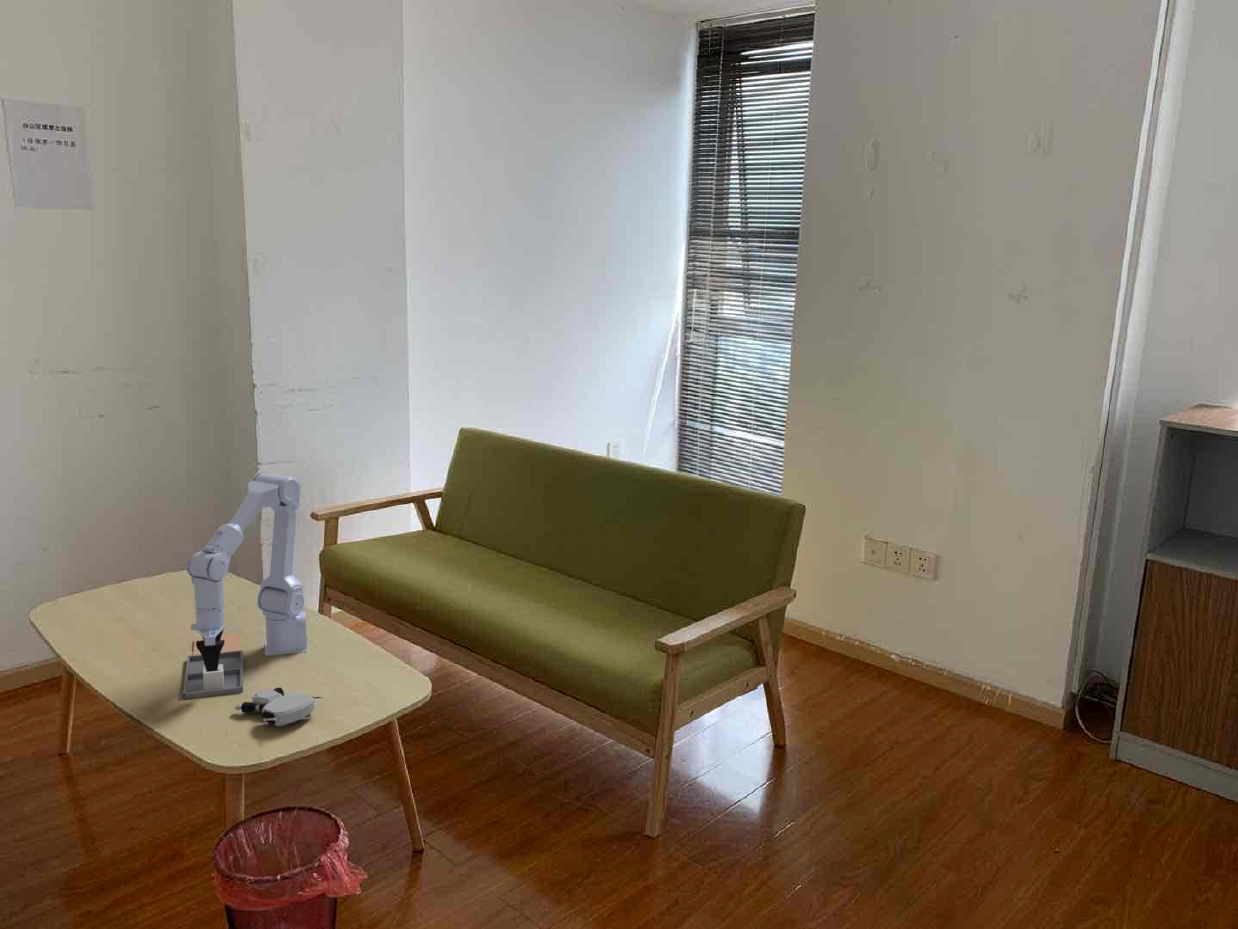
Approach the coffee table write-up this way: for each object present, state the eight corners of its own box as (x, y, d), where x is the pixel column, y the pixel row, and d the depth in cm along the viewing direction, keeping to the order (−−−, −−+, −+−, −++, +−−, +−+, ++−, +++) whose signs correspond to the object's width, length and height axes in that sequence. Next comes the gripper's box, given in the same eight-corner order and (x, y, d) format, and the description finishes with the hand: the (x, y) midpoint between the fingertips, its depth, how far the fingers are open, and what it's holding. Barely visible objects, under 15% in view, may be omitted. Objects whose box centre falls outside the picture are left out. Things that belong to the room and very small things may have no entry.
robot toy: (231, 720, 199) (278, 737, 191) (229, 700, 198) (277, 716, 190) (279, 698, 209) (326, 714, 201) (278, 679, 208) (325, 694, 200)
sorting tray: (242, 656, 226) (242, 650, 226) (243, 693, 208) (242, 687, 208) (188, 661, 222) (187, 655, 222) (183, 700, 204) (182, 694, 204)
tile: (238, 636, 237) (238, 634, 237) (238, 653, 228) (238, 650, 228) (195, 641, 233) (194, 638, 233) (193, 657, 224) (192, 655, 224)
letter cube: (223, 680, 213) (223, 663, 212) (223, 688, 209) (222, 671, 209) (204, 682, 212) (203, 665, 211) (203, 690, 208) (202, 673, 207)
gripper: (191, 595, 211) (194, 651, 214) (187, 619, 198) (191, 679, 201) (225, 592, 214) (227, 648, 217) (224, 616, 201) (227, 675, 204)
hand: (212, 663), depth 209 cm, fingers open, 7 cm apart
